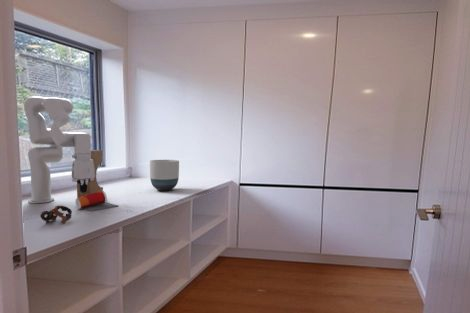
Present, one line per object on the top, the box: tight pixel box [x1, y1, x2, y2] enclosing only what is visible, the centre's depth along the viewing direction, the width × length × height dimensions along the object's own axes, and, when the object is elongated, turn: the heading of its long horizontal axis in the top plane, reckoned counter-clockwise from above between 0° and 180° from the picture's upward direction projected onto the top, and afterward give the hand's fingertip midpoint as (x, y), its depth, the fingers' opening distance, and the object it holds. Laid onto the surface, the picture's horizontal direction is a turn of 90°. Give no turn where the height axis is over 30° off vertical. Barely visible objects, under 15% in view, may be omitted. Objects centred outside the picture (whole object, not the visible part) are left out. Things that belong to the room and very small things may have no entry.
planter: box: [149, 159, 180, 192], centre depth 215 cm, size 20×20×21 cm
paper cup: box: [75, 190, 108, 209], centre depth 160 cm, size 8×8×14 cm
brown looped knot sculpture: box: [40, 205, 73, 225], centre depth 131 cm, size 12×10×8 cm
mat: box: [81, 201, 119, 212], centre depth 162 cm, size 14×15×1 cm
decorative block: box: [76, 149, 104, 199], centre depth 173 cm, size 15×8×30 cm, turn 176°
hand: (83, 192), depth 155 cm, fingers closed
